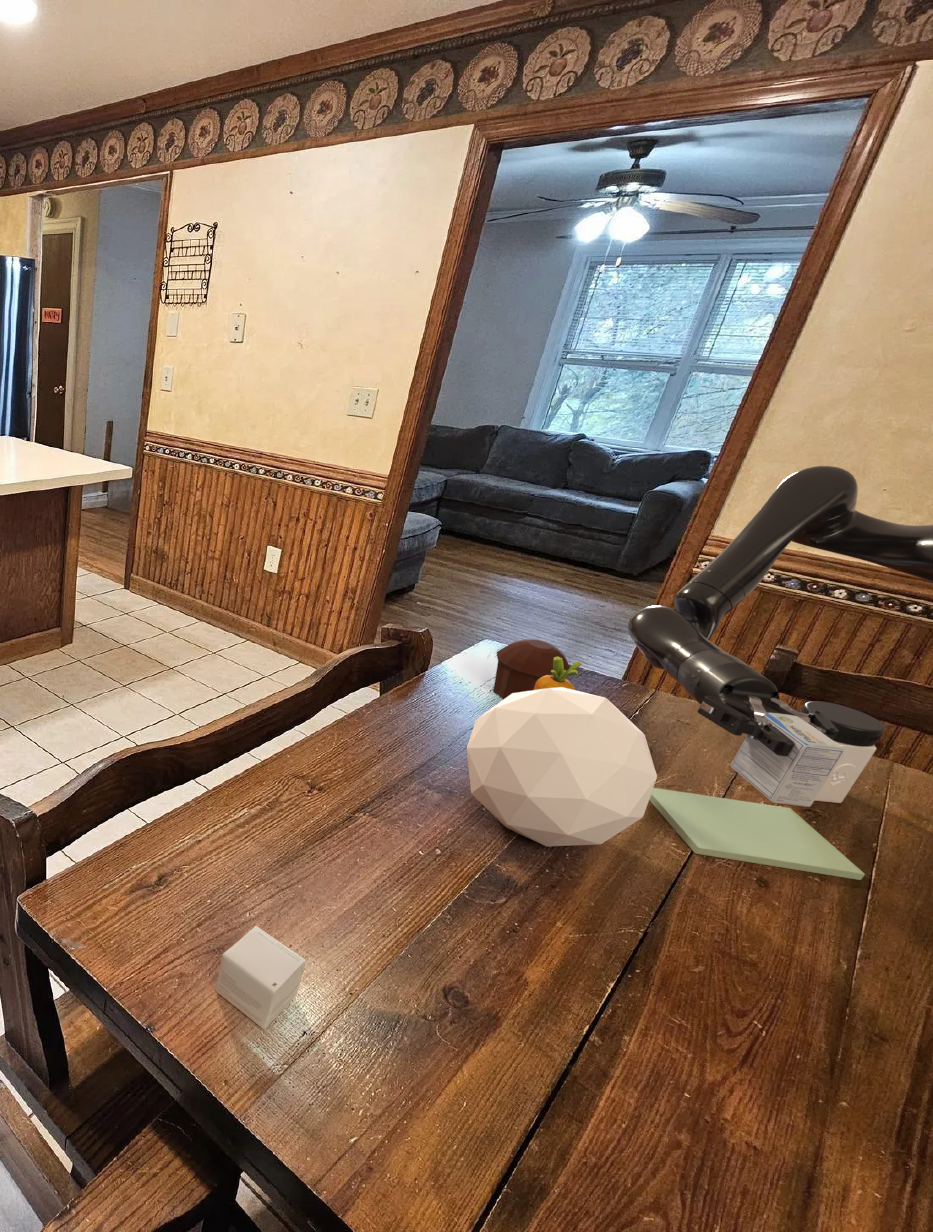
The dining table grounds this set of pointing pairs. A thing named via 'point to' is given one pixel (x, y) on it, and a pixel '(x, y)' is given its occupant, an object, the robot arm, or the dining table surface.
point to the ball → (560, 766)
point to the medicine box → (789, 762)
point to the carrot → (557, 676)
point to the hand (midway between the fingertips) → (810, 752)
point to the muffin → (524, 665)
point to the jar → (847, 747)
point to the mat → (750, 833)
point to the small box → (259, 976)
